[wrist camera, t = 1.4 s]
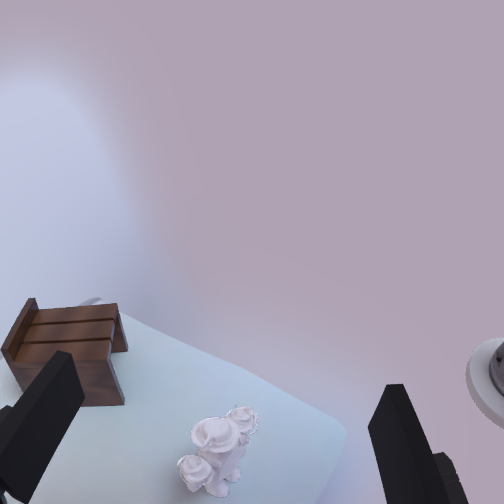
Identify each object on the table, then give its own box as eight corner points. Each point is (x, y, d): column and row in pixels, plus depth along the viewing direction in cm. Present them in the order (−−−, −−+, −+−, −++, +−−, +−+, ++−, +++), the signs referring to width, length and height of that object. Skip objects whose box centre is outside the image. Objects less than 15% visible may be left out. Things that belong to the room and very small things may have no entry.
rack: (128, 346, 46) (113, 290, 42) (124, 405, 35) (102, 345, 31) (48, 351, 43) (28, 298, 39) (31, 405, 32) (0, 349, 28)
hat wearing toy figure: (213, 521, 22) (195, 469, 17) (181, 500, 24) (153, 439, 19) (265, 461, 29) (269, 390, 24) (234, 445, 31) (228, 372, 26)
